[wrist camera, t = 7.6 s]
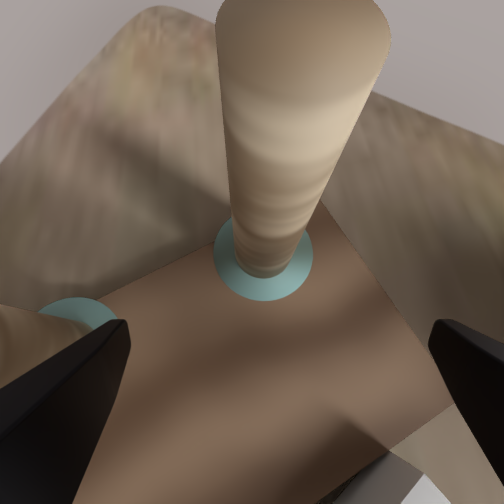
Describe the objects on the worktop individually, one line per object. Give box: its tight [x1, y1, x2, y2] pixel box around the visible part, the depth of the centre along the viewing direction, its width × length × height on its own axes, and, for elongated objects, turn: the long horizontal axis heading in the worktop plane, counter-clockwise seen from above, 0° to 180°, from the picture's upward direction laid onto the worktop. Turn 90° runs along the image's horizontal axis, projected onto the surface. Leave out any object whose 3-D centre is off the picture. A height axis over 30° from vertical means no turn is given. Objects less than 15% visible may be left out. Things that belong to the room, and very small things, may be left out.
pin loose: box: [215, 0, 391, 279], centre depth 12 cm, size 3×3×13 cm
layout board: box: [38, 199, 454, 504], centre depth 17 cm, size 15×20×1 cm
